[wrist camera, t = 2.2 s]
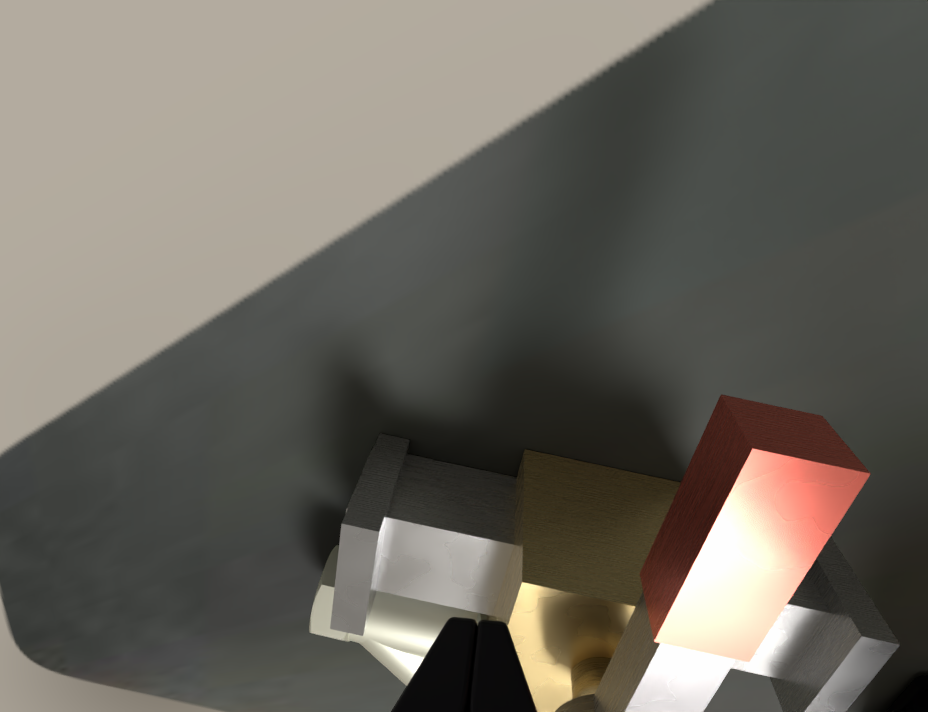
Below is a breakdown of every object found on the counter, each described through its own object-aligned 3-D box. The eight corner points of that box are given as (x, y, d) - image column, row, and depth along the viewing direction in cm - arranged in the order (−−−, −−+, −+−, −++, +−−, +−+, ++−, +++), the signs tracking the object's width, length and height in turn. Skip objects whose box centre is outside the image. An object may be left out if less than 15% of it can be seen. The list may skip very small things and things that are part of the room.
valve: (839, 516, 22) (989, 734, 15) (768, 627, 25) (865, 853, 17) (376, 417, 22) (301, 583, 15) (360, 538, 25) (291, 726, 18)
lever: (644, 772, 17) (655, 846, 15) (537, 749, 17) (538, 820, 15) (852, 422, 11) (906, 480, 10) (691, 388, 11) (717, 441, 10)
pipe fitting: (486, 654, 28) (520, 568, 25) (479, 739, 25) (516, 653, 22) (329, 618, 28) (340, 526, 25) (301, 698, 25) (309, 605, 22)
